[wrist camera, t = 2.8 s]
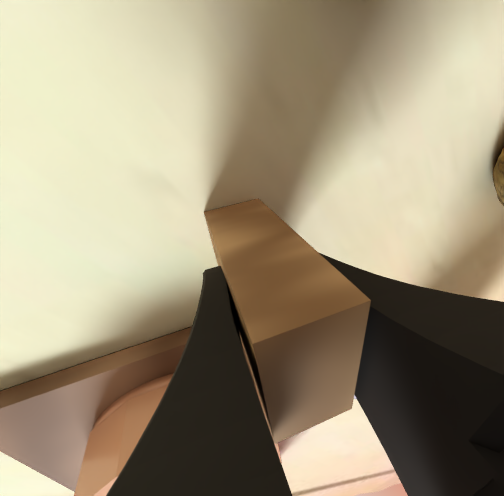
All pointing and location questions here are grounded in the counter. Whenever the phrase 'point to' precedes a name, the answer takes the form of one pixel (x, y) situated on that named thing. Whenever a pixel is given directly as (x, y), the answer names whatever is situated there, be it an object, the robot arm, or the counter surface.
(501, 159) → the brown rock
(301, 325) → the wooden block
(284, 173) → the counter surface
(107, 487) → the terracotta round tray
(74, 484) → the walnut board
